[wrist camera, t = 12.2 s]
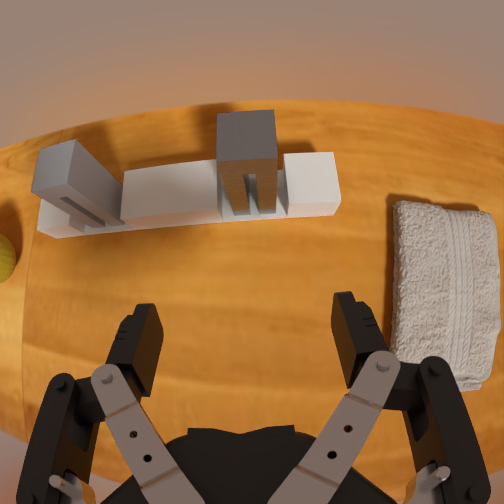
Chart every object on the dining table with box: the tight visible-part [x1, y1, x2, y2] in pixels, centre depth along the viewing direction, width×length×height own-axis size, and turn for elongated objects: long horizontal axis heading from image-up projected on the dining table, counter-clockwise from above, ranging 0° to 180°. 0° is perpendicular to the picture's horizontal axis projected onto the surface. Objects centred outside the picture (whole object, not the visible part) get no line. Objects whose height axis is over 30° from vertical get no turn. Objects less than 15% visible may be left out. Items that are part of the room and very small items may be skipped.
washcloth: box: [389, 200, 501, 392], centre depth 25 cm, size 12×18×3 cm, turn 175°
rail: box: [31, 139, 341, 239], centre depth 24 cm, size 28×4×10 cm, turn 93°
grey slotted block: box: [216, 110, 278, 216], centre depth 23 cm, size 4×4×10 cm
